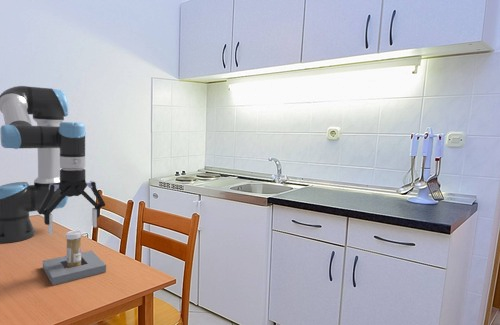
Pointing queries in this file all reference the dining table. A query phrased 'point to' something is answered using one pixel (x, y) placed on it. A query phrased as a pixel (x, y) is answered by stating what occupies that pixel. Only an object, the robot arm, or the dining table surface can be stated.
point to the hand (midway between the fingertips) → (73, 230)
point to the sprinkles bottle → (73, 248)
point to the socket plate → (73, 268)
